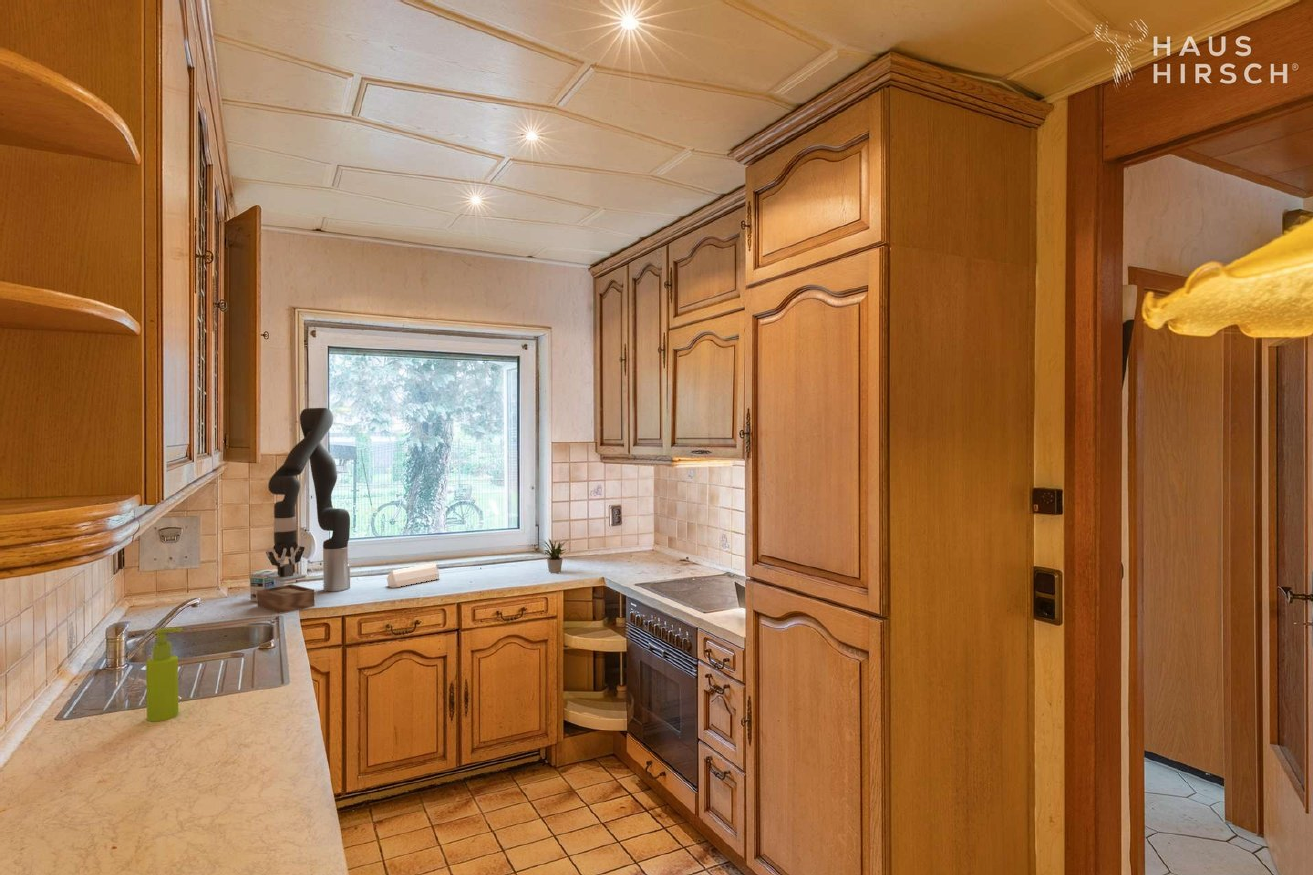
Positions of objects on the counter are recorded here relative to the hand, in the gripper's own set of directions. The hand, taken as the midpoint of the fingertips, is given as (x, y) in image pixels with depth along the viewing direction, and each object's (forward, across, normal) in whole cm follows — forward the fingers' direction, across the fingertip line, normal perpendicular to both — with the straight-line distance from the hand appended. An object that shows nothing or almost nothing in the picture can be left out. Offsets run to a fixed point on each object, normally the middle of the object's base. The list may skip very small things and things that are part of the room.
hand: (286, 575), depth 262 cm
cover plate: (+1, 0, 0) cm, 1 cm away
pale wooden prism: (+13, -52, +5) cm, 53 cm away
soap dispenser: (+10, +68, +80) cm, 105 cm away
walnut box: (+11, 0, 0) cm, 11 cm away
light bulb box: (+12, -2, -18) cm, 22 cm away
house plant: (+13, -100, +39) cm, 109 cm away
